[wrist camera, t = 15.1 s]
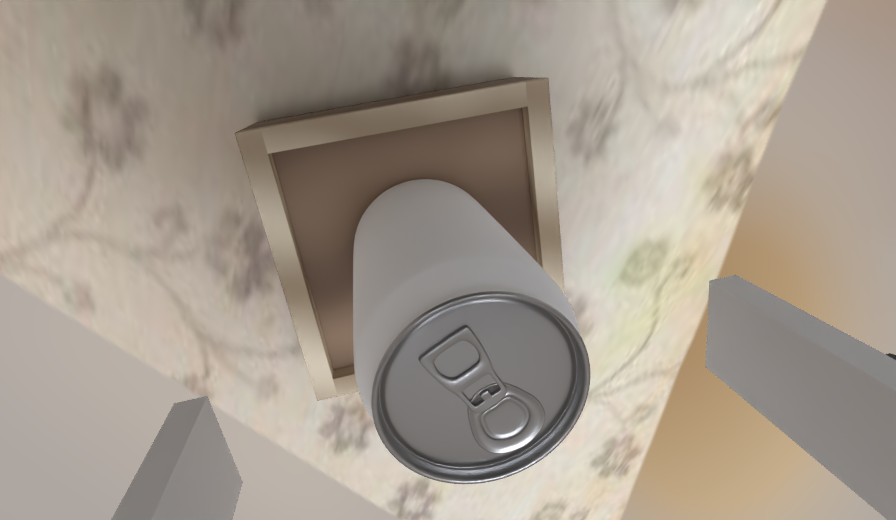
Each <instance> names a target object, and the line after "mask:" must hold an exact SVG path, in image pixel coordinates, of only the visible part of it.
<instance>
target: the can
mask: <svg viewBox="0 0 896 520" xmlns="http://www.w3.org/2000/svg"><path fill="white" fill-rule="evenodd" d="M353 352H354V370H355V378H356V383H357V387H358V391H359V395H360V397H361V400H362V402H363V404H364V406H365V408H366V410H367V412H368V413H369V415H370V416H371V418H372V419H373V421H374V424H375V427H376V430H377V432H378V434H379V436H380V438H381V440H382V442H383V444H384V445H385V447H386V448H387V449H388V451H389V452H390V453H391V454H392V455H393V456H394V457H395V458H396V459H397V460H398V461H399V462H400V463H402V464H403V465H404V466H406V467H407V468H409V469H410V470H412V471H414V472H416V473H418V474H420V475H422V476H424V477H427V478H430V479H433V480H437V481H441V482H446V483H454V484H477V483H485V482H490V481H495V480H499V479H502V478H505V477H508V476H511V475H514V474H516V473H518V472H521V471H523V470H525V469H527V468H529V467H530V466H532V465H534V464H535V463H537V462H539V461H540V460H541V459H543V458H544V457H545V456H547V455H548V454H549V453H551V452H552V451H553V450H554V449H555V448H556V447H557V446H558V445H559V444H560V443H561V442H562V441H563V440H564V439H565V438H566V436H567V435H568V434H569V432H570V431H571V430H572V428H573V427H574V425H575V424H576V422H577V420H578V419H579V417H580V415H581V412H582V410H583V408H584V405H585V402H586V399H587V396H588V391H589V385H590V363H589V358H588V353H587V350H586V347H585V345H584V342H583V340H582V338H581V336H580V334H579V328H578V323H577V320H576V316H575V314H574V311H573V309H572V307H571V305H570V303H569V301H568V299H567V298H566V296H565V295H564V293H563V292H562V290H561V289H560V287H559V286H558V285H557V284H556V283H555V281H554V280H553V279H552V278H551V277H550V276H549V275H548V273H547V272H546V271H545V270H544V269H543V268H542V267H541V266H540V265H539V264H538V263H537V262H536V261H535V260H534V259H533V258H532V257H531V256H530V255H529V254H528V253H527V251H526V250H525V249H524V248H523V247H522V246H521V245H520V244H519V243H518V242H517V241H516V240H515V239H514V238H513V237H512V236H511V235H510V234H509V233H508V232H507V231H506V230H505V229H504V228H503V227H502V226H501V225H500V224H499V223H498V222H497V221H496V220H495V219H494V218H493V217H492V216H491V215H490V214H489V213H488V212H487V211H486V210H485V209H484V208H483V207H482V206H481V205H480V204H479V203H478V202H477V201H476V200H475V199H474V198H473V197H472V196H470V195H469V194H468V193H467V192H465V191H464V190H462V189H461V188H459V187H457V186H455V185H453V184H450V183H447V182H444V181H440V180H433V179H418V180H411V181H407V182H403V183H401V184H398V185H396V186H393V187H391V188H390V189H388V190H386V191H385V192H383V193H382V194H381V195H379V196H378V197H377V198H376V199H375V200H374V201H373V202H372V203H371V204H370V205H369V207H368V208H367V209H366V211H365V212H364V214H363V216H362V217H361V219H360V222H359V224H358V227H357V230H356V234H355V239H354V250H353Z"/></svg>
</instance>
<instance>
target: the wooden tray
mask: <svg viewBox="0 0 896 520" xmlns="http://www.w3.org/2000/svg"><path fill="white" fill-rule="evenodd" d="M235 135H236V139H237V142H238V145H239V148H240V152H241V155H242V158H243V161H244V165H245V168H246V171H247V174H248V178H249V181H250V184H251V187H252V191H253V194H254V197H255V200H256V204H257V207H258V210H259V213H260V216H261V220H262V223H263V226H264V229H265V233H266V236H267V239H268V242H269V246H270V249H271V252H272V255H273V259H274V262H275V265H276V268H277V272H278V275H279V278H280V281H281V285H282V288H283V291H284V294H285V297H286V301H287V304H288V307H289V310H290V314H291V317H292V320H293V323H294V327H295V330H296V333H297V336H298V340H299V343H300V346H301V349H302V353H303V356H304V359H305V362H306V366H307V369H308V372H309V375H310V379H311V382H312V385H313V388H314V391H315V395H316V398H317V401H319V400H324V399H328V398H332V397H336V396H341V395H345V394H349V393H353V392H357V391H358V387H357V383H356V378H355V370H354V352H353V250H354V239H355V234H356V230H357V227H358V224H359V222H360V219H361V217H362V216H363V214H364V212H365V211H366V209H367V208H368V207H369V205H370V204H371V203H372V202H373V201H374V200H375V199H376V198H377V197H378V196H379V195H381V194H382V193H383V192H385V191H386V190H388V189H390V188H391V187H393V186H396V185H398V184H401V183H403V182H407V181H411V180H418V179H433V180H440V181H444V182H447V183H450V184H453V185H455V186H457V187H459V188H461V189H462V190H464V191H465V192H467V193H468V194H469V195H470V196H472V197H473V198H474V199H475V200H476V201H477V202H478V203H479V204H480V205H481V206H482V207H483V208H484V209H485V210H486V211H487V212H488V213H489V214H490V215H491V216H492V217H493V218H494V219H495V220H496V221H497V222H498V223H499V224H500V225H501V226H502V227H503V228H504V229H505V230H506V231H507V232H508V233H509V234H510V235H511V236H512V237H513V238H514V239H515V240H516V241H517V242H518V243H519V244H520V245H521V246H522V247H523V248H524V249H525V250H526V251H527V253H528V254H529V255H530V256H531V257H532V258H533V259H534V260H535V261H536V262H537V263H538V264H539V265H540V266H541V267H542V268H543V269H544V270H545V271H546V272H547V273H548V275H549V276H550V277H551V278H552V279H553V280H554V281H555V283H556V284H557V285H558V286H559V287H560V289H561V290H562V292H563V293H564V295H565V290H564V277H563V264H562V251H561V238H560V225H559V212H558V199H557V186H556V173H555V159H554V146H553V133H552V120H551V107H550V94H549V81H548V78H524V77H514V78H508V79H502V80H497V81H491V82H485V83H479V84H474V85H468V86H462V87H456V88H451V89H445V90H439V91H434V92H428V93H422V94H416V95H411V96H405V97H399V98H394V99H388V100H382V101H376V102H371V103H365V104H359V105H354V106H348V107H342V108H336V109H331V110H325V111H319V112H314V113H308V114H302V115H296V116H291V117H285V118H279V119H274V120H268V121H262V122H257V123H255V124H252V125H250V126H248V127H246V128H244V129H242V130H240V131H238V132H236V133H235Z"/></svg>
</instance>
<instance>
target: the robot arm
mask: <svg viewBox="0 0 896 520" xmlns="http://www.w3.org/2000/svg"><path fill="white" fill-rule="evenodd" d="M706 368H707V369H709V370H710V371H711V372H712V373H713V374H715V375H716V376H717V377H718V378H720V379H721V380H722V381H723V382H724V383H726V384H727V385H728V386H729V387H730V388H731V389H732V390H734V391H735V392H736V393H737V394H738V395H740V396H741V397H742V398H743V399H744V400H746V401H747V402H748V403H749V404H750V405H751V406H753V407H754V408H755V409H756V410H758V411H759V412H760V413H761V414H762V415H763V416H765V417H766V418H767V419H768V420H769V421H771V422H772V423H773V424H774V425H775V426H776V427H778V428H779V429H780V430H781V431H782V432H784V433H785V434H786V435H787V436H788V437H790V438H791V439H792V440H793V441H794V442H795V443H797V444H798V445H799V446H800V447H801V448H803V449H804V450H805V451H806V452H807V453H809V454H810V455H811V456H812V457H813V458H815V459H816V460H817V461H818V462H819V463H821V464H822V465H823V466H824V467H825V468H826V469H828V470H829V471H830V472H831V473H832V474H834V475H835V476H836V477H837V478H838V479H840V480H841V481H842V482H843V483H844V484H845V485H847V486H848V487H849V488H850V489H851V490H853V491H854V492H855V493H856V494H857V495H859V496H860V497H861V498H862V499H863V500H865V501H866V502H867V503H868V504H870V506H872V507H873V508H874V509H875V510H876V511H878V512H879V513H880V514H881V515H882V516H884V517H885V518H886V519H887V520H896V355H893V354H890V353H889V354H883V353H882V352H880V351H878V350H876V349H874V348H872V347H870V346H868V345H866V344H865V343H863V342H861V341H859V340H857V339H855V338H853V337H851V336H850V335H848V334H846V333H844V332H842V331H840V330H838V329H836V328H835V327H833V326H831V325H829V324H827V323H825V322H823V321H821V320H819V319H818V318H816V317H814V316H812V315H810V314H808V313H806V312H805V311H803V310H801V309H799V308H797V307H795V306H793V305H791V304H789V303H788V302H786V301H784V300H782V299H780V298H778V297H776V296H774V295H773V294H771V293H769V292H767V291H765V290H763V289H761V288H759V287H757V286H756V285H754V284H752V283H750V282H748V281H746V280H744V279H743V278H740V277H739V276H737V275H733V276H728V277H724V278H720V279H715V280H711V281H709V302H708V323H707V346H706ZM241 486H242V480H241V477H240V475H239V472H238V470H237V467H236V465H235V463H234V460H233V457H232V455H231V453H230V450H229V448H228V445H227V443H226V440H225V438H224V436H223V433H222V431H221V428H220V426H219V423H218V421H217V418H216V416H215V414H214V411H213V409H212V406H211V404H210V401H209V399H208V397H207V396H205V397H200V398H197V399H192V400H187V401H183V402H179V403H174V405H173V407H172V409H171V411H170V413H169V414H168V416H167V418H166V420H165V422H164V424H163V425H162V427H161V429H160V431H159V433H158V435H157V437H156V438H155V440H154V442H153V444H152V446H151V448H150V449H149V451H148V453H147V455H146V457H145V459H144V461H143V462H142V464H141V466H140V468H139V470H138V472H137V473H136V475H135V477H134V479H133V481H132V483H131V485H130V487H129V488H128V490H127V492H126V494H125V496H124V497H123V499H122V501H121V503H120V505H119V507H118V508H117V510H116V512H115V514H114V516H113V518H112V520H232V519H233V515H234V512H235V508H236V504H237V501H238V497H239V493H240V490H241Z"/></svg>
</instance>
